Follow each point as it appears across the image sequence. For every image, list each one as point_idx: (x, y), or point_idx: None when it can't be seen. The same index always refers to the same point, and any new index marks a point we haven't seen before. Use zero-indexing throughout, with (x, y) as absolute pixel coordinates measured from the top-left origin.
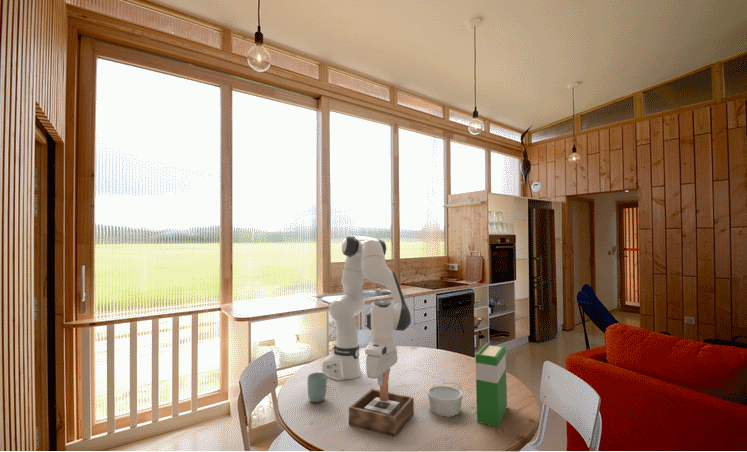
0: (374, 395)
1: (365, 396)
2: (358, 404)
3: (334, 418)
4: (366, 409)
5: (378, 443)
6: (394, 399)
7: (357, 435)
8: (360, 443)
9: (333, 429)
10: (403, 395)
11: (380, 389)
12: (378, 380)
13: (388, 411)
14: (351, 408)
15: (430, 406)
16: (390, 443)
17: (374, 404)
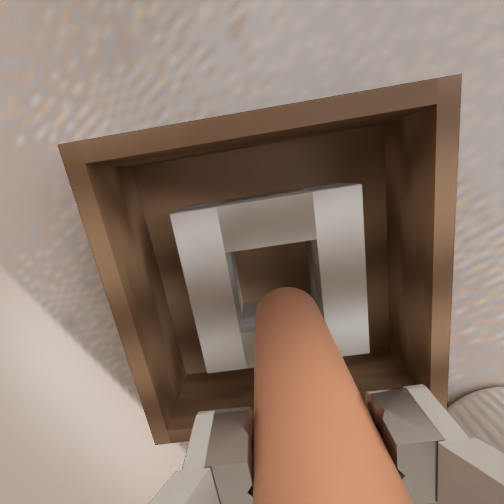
0: (412, 130)
1: (294, 128)
2: (179, 150)
3: (111, 25)
4: (175, 232)
5: (102, 351)
6: (413, 287)
7: (82, 252)
8: (50, 298)
9: (30, 116)
10: (448, 353)
11: (257, 356)
12: (185, 474)
13: (227, 358)
14: (67, 169)
15: (468, 413)
16: (134, 383)
17: (253, 243)
